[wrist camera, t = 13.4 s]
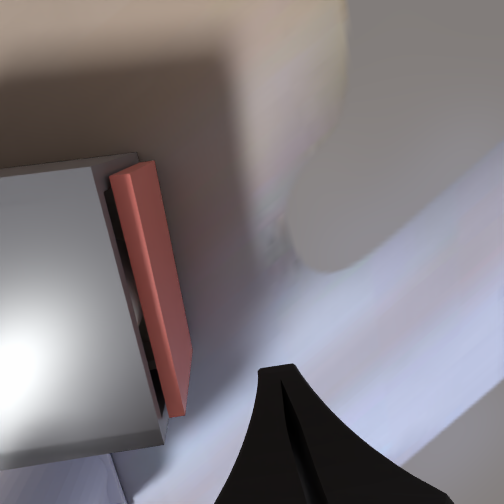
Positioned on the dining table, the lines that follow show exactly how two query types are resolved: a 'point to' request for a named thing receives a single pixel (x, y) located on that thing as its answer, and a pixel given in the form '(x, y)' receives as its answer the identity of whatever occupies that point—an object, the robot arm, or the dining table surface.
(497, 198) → the dining table surface
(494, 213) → the dining table surface
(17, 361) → the housing
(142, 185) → the red drawer
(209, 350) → the dining table surface
